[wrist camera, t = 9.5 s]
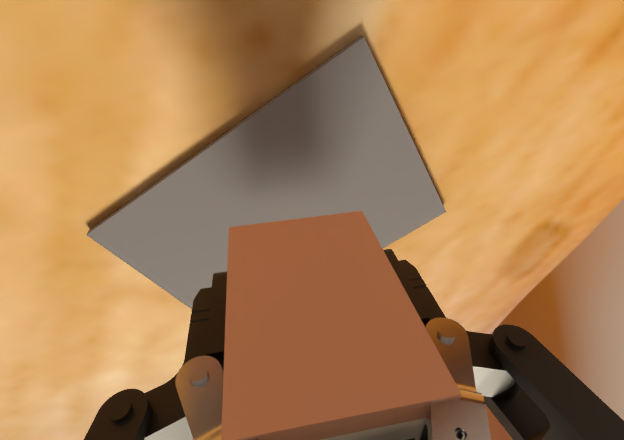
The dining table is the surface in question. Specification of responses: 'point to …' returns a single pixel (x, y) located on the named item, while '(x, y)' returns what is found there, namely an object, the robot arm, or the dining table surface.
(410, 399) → the block
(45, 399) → the dining table surface
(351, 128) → the mat
